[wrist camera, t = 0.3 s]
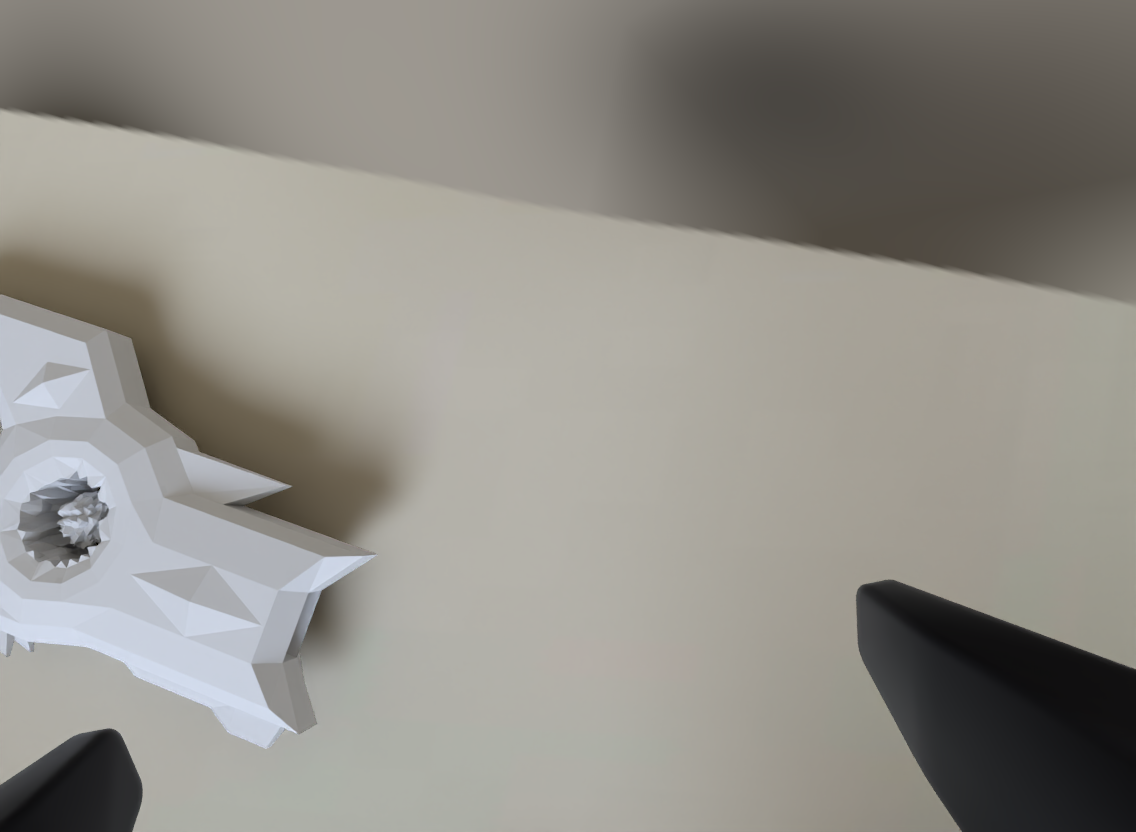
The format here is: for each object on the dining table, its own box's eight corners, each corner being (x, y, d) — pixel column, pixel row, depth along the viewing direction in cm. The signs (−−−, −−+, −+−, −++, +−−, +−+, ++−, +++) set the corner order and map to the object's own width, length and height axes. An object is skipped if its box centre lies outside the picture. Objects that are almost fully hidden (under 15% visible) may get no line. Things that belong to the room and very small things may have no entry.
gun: (395, 424, 19) (261, 792, 18) (432, 439, 23) (321, 750, 22) (-135, 248, 22) (-281, 558, 21) (-31, 285, 25) (-152, 554, 24)
